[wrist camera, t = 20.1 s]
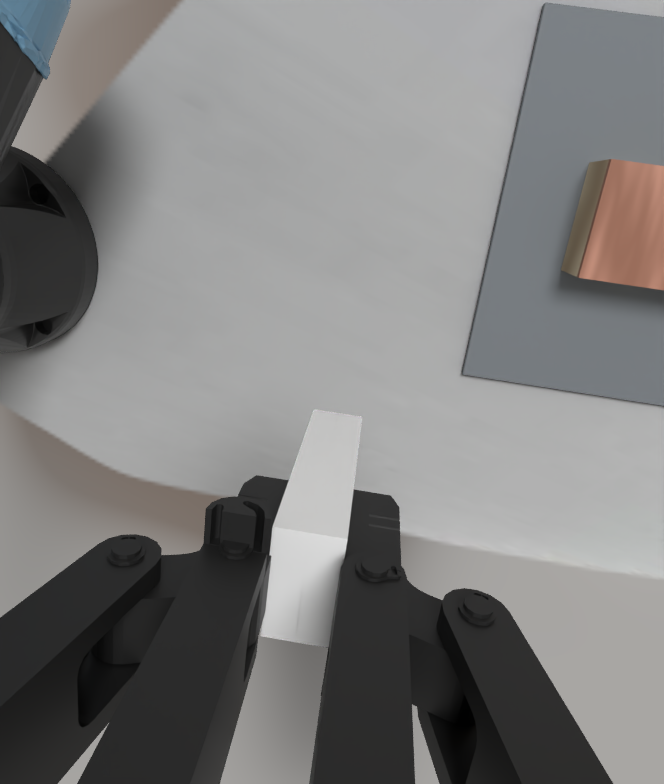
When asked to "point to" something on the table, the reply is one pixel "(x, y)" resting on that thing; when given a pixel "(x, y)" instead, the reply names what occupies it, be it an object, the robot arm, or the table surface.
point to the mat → (573, 214)
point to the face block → (619, 225)
